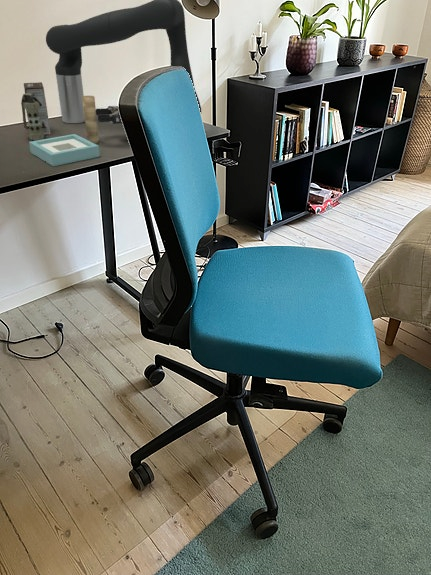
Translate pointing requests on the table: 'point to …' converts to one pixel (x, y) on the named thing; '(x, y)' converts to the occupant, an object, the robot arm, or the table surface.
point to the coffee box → (40, 96)
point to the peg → (90, 119)
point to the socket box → (64, 149)
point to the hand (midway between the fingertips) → (97, 115)
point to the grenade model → (32, 116)
